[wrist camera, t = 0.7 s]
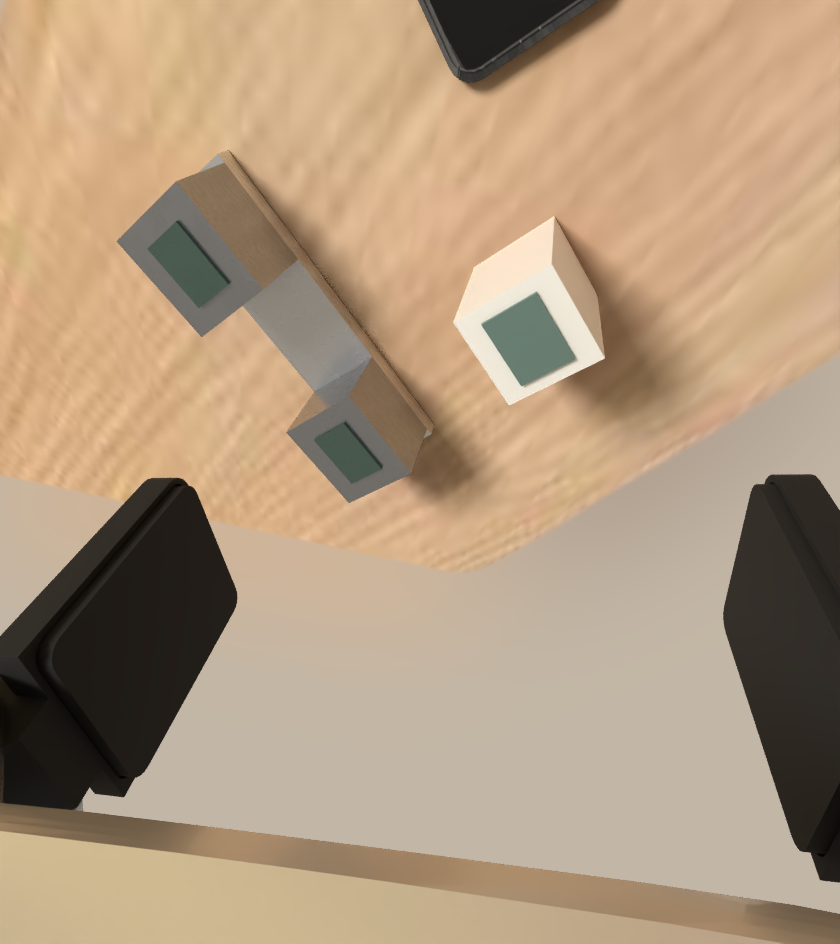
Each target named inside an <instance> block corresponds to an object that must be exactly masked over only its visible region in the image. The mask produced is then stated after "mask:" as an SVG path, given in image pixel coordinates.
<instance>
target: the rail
mask: <svg viewBox="0 0 840 944" xmlns="http://www.w3.org/2000/svg"><path fill="white" fill-rule="evenodd" d="M117 242H118V244H119V245H120V246H121V247H122V248H123V249H124V250H125V251H126V253H127V254H128V255H129V256H130V257H131V258H132V259H133V260H134V262H135V263H136V264H137V265H138V266H139V267H140V268H141V269H142V271H143V272H144V273H145V274H146V275H147V276H148V277H149V278H150V280H151V281H152V282H153V283H154V284H155V285H156V286H157V287H158V289H159V290H160V291H161V292H162V293H163V294H164V295H165V296H166V298H167V299H168V300H169V301H170V302H171V303H172V304H173V305H174V307H175V308H176V309H177V310H178V311H179V312H180V313H181V314H182V316H183V317H184V318H185V319H186V320H187V321H188V322H189V323H190V325H191V326H192V327H193V328H194V329H195V330H196V331H197V332H198V334H199V335H200V336H201V337H203V336H204V335H205V334H206V333H208V332H209V331H210V330H212V329H213V328H214V327H215V326H217V325H218V324H219V323H221V322H222V321H223V320H225V319H226V318H227V317H228V316H230V315H231V314H232V313H234V312H235V311H236V310H237V309H239V308H240V307H241V306H243V307H244V308H245V309H246V310H247V311H248V313H249V314H250V315H251V316H252V317H253V319H254V320H255V321H256V322H257V323H258V325H259V326H260V327H261V328H262V329H263V331H264V332H265V333H266V334H267V335H268V337H269V338H270V339H271V340H272V341H273V343H274V344H275V345H276V346H277V347H278V349H279V350H280V351H281V352H282V353H283V355H284V356H285V357H286V358H287V359H288V361H289V362H290V363H291V364H292V365H293V367H294V368H295V369H296V370H297V371H298V373H299V374H300V375H301V376H302V377H303V379H304V380H305V381H306V382H307V383H308V385H309V386H310V387H311V388H312V389H313V391H314V393H313V395H312V396H311V398H310V399H309V400H308V402H307V403H306V405H305V406H304V408H303V409H302V411H301V412H300V414H299V415H298V416H297V418H296V419H295V421H294V422H293V424H292V425H291V427H290V428H289V429H288V431H287V432H286V433H287V434H288V435H289V436H290V437H291V438H292V439H293V440H294V442H295V443H296V444H297V445H298V446H299V447H300V448H301V449H302V451H303V452H304V453H305V454H306V455H307V456H308V457H309V458H310V460H311V461H312V462H313V463H314V464H315V465H316V466H317V467H318V469H319V470H320V471H321V472H322V473H323V474H324V475H325V476H326V478H327V479H328V480H329V481H330V482H331V483H332V484H333V485H334V487H335V488H336V489H337V490H338V491H339V492H340V493H341V494H342V496H343V497H344V498H345V499H346V500H347V501H348V502H349V503H350V502H352V501H354V500H356V499H358V498H361V497H363V496H365V495H367V494H369V493H371V492H373V491H375V490H378V489H380V488H382V487H384V486H386V485H388V484H390V483H393V482H395V481H397V480H399V479H401V478H403V477H405V476H407V475H410V474H411V473H412V470H413V467H414V465H415V462H416V459H417V456H418V453H419V450H420V447H421V444H422V442H423V439H424V438H425V437H427V436H429V435H431V434H432V431H433V428H434V424H433V423H432V421H431V420H430V419H429V417H428V416H427V415H426V413H425V412H424V411H423V409H422V408H421V407H420V405H419V404H418V403H417V401H416V400H415V399H414V397H413V396H412V395H411V393H410V392H409V391H408V389H407V388H406V387H405V385H404V384H403V383H402V381H401V380H400V379H399V377H398V376H397V375H396V373H395V372H394V371H393V369H392V368H391V367H390V365H389V364H388V363H387V361H386V360H385V359H384V357H383V356H382V355H381V353H380V352H379V351H378V349H377V348H376V347H375V345H374V344H373V343H372V341H371V340H370V339H369V337H368V336H367V335H366V333H365V332H364V331H363V329H362V328H361V327H360V325H359V324H358V323H357V321H356V320H355V319H354V317H353V316H352V315H351V313H350V312H349V311H348V309H347V308H346V307H345V305H344V304H343V303H342V301H341V300H340V299H339V297H338V296H337V295H336V293H335V292H334V291H333V289H332V288H331V287H330V285H329V284H328V283H327V281H326V280H325V279H324V277H323V276H322V275H321V273H320V272H319V271H318V269H317V268H316V267H315V265H314V264H313V263H312V261H311V260H310V259H309V257H308V256H307V255H306V253H305V252H304V251H303V249H302V248H301V247H300V245H299V244H298V243H297V241H296V240H295V239H294V237H293V236H292V235H291V233H290V232H289V231H288V229H287V228H286V227H285V225H284V224H283V223H282V221H281V220H280V219H279V217H278V216H277V215H276V213H275V212H274V211H273V209H272V208H271V207H270V205H269V204H268V203H267V201H266V200H265V199H264V197H263V196H262V195H261V193H260V192H259V191H258V189H257V188H256V187H255V185H254V184H253V183H252V181H251V180H250V179H249V177H248V176H247V175H246V173H245V172H244V171H243V169H242V168H241V167H240V165H239V164H238V163H237V161H236V160H235V159H234V157H233V156H232V155H231V153H230V152H229V151H228V150H227V151H224V152H221V153H219V154H217V155H216V156H215V157H214V158H213V159H212V160H211V161H210V162H209V163H208V164H207V165H206V166H205V167H204V168H203V169H202V170H201V171H200V172H199V173H197V174H194V175H191V176H189V177H186V178H184V179H181V180H179V181H176V182H175V183H174V184H173V185H172V186H171V187H170V188H169V189H168V190H167V191H166V192H165V193H164V194H163V195H162V196H161V197H160V198H159V199H158V200H157V201H156V202H155V203H154V204H153V205H152V206H151V207H150V208H149V209H148V210H147V211H146V212H145V213H144V214H143V215H142V216H141V217H140V218H139V219H138V220H137V221H136V222H135V223H134V224H133V225H132V226H131V227H130V228H129V229H128V230H127V231H126V232H125V233H124V234H123V235H122V236H121V237H120V238H119V239H118V240H117Z"/></svg>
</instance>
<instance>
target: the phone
mask: <svg viewBox="0 0 840 944" xmlns="http://www.w3.org/2000/svg"><path fill="white" fill-rule="evenodd" d="M418 1H419V3H420V5H421V8H422V10H423V12H424V14H425V16H426V19H427V21H428V23H429V25H430V27H431V29H432V32H433V34H434V36H435V38H436V40H437V42H438V45H439V47H440V49H441V51H442V53H443V56H444V58H445V60H446V62H447V64H448V66H449V68H450V70H451V71H452V73H453V75H454V76H456V77H457V78H458V79H459V80H461V81H464V82H467V83H470V82H477V81H479V80H481V79H483V78H485V77H486V76H488V75H489V74H491V73H492V72H494V71H495V70H497V69H498V68H500V67H501V66H503V65H504V64H506V63H507V62H509V61H510V60H512V59H513V58H515V57H516V56H517V55H519V54H520V53H522V52H523V51H525V50H526V49H528V48H529V47H531V46H532V45H534V44H535V43H537V42H538V41H540V40H541V39H543V38H544V37H546V36H547V35H549V34H550V33H552V32H553V31H554V30H556V29H557V28H559V27H560V26H562V25H563V24H565V23H566V22H568V21H569V20H571V19H572V18H574V17H575V16H577V15H578V14H580V13H581V12H583V11H584V10H586V9H587V8H589V7H590V6H592V5H593V4H594V3H596V2H597V1H598V0H418Z"/></svg>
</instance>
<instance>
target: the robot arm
mask: <svg viewBox="0 0 840 944" xmlns="http://www.w3.org/2000/svg"><path fill="white" fill-rule="evenodd" d="M236 604H237V591H236V588H235V585H234V583H233V580H232V578H231V576H230V573H229V571H228V568H227V566H226V563H225V561H224V558H223V556H222V554H221V551H220V549H219V546H218V544H217V541H216V539H215V537H214V534H213V532H212V529H211V527H210V524H209V522H208V519H207V517H206V514H205V512H204V509H203V507H202V505H201V502H200V500H199V497H198V495H197V492H196V491H195V489H194V488H193V487H191V486H188V484H187V483H186V482H185V481H184V480H183V479H180V478H151V479H148V480H146V481H145V482H144V483H143V484H142V485H141V486H140V487H139V488H138V489H137V490H136V491H135V492H134V493H133V495H132V496H131V497H130V498H129V499H128V500H127V501H126V502H125V503H124V504H123V505H122V506H121V507H120V508H119V510H118V511H117V512H116V513H115V514H114V515H113V516H112V517H111V518H110V519H109V520H108V521H107V523H105V525H104V526H103V527H102V528H101V529H100V530H99V531H98V532H97V533H96V534H95V535H94V536H93V537H92V538H91V539H90V541H89V542H88V543H87V544H86V545H85V546H84V547H83V548H82V549H81V550H80V551H79V552H78V553H77V554H76V556H75V557H74V558H73V559H72V560H71V561H70V562H69V563H68V564H67V565H66V566H65V567H64V569H62V571H61V572H60V573H59V574H58V575H57V576H56V577H55V578H54V579H53V580H52V581H51V582H50V583H49V584H48V586H47V587H46V588H45V589H44V590H43V591H42V592H41V593H40V594H39V596H37V597H36V599H35V600H34V601H33V602H32V603H31V604H30V605H29V606H28V607H27V608H26V609H25V610H24V611H23V612H22V613H21V614H20V616H19V617H18V618H17V619H16V620H15V621H14V622H13V623H12V624H11V625H10V626H9V627H8V628H7V630H6V631H5V632H4V633H3V634H2V635H1V636H0V944H840V914H837V913H832V912H827V911H822V910H817V909H811V908H806V907H801V906H796V905H790V904H783V903H776V902H769V901H763V900H756V899H749V898H743V897H736V896H729V895H723V894H715V893H709V892H702V891H696V890H689V889H682V888H676V887H668V886H662V885H656V884H649V883H641V882H634V881H627V880H619V879H611V878H604V877H596V876H589V875H581V874H573V873H566V872H558V871H551V870H543V869H535V868H528V867H520V866H513V865H504V864H497V863H490V862H482V861H474V860H467V859H459V858H452V857H444V856H436V855H429V854H420V853H412V852H405V851H397V850H389V849H382V848H373V847H365V846H358V845H350V844H342V843H334V842H326V841H319V840H310V839H303V838H294V837H287V836H279V835H271V834H263V833H254V832H247V831H239V830H231V829H222V828H215V827H206V826H198V825H190V824H182V823H173V822H165V821H157V820H149V819H140V818H132V817H124V816H116V815H107V814H99V813H91V812H83V804H82V799H83V797H84V795H85V794H86V792H87V791H88V789H89V787H90V788H91V789H92V791H93V792H94V793H95V794H101V795H110V796H118V797H124V796H125V795H126V793H127V791H128V789H129V787H130V786H131V784H132V782H133V780H134V779H135V777H138V776H140V775H141V774H142V773H144V772H145V770H146V768H147V767H148V765H149V763H150V762H151V760H152V758H153V756H154V755H155V753H156V751H157V749H158V747H159V746H160V744H161V742H162V740H163V738H164V737H165V735H166V733H167V731H168V729H169V727H170V726H171V724H172V722H173V720H174V718H175V717H176V715H177V713H178V711H179V709H180V708H181V706H182V704H183V702H184V700H185V699H186V697H187V695H188V693H189V691H190V690H191V688H192V686H193V684H194V682H195V681H196V679H197V677H198V675H199V673H200V671H201V670H202V668H203V666H204V664H205V662H206V661H207V659H208V657H209V655H210V653H211V652H212V650H213V648H214V646H215V644H216V642H217V641H218V639H219V637H220V635H221V634H222V632H223V630H224V628H225V626H226V624H227V623H228V621H229V619H230V617H231V615H232V614H233V612H234V609H235V607H236ZM723 615H724V616H723V619H724V627H725V631H726V635H727V637H728V641H729V644H730V647H731V650H732V653H733V656H734V660H735V662H736V666H737V669H738V672H739V675H740V678H741V681H742V684H743V687H744V690H745V694H746V697H747V700H748V702H749V706H750V709H751V712H752V715H753V718H754V721H755V724H756V727H757V731H758V734H759V736H760V740H761V743H762V746H763V749H764V752H765V755H766V758H767V761H768V764H769V767H770V771H771V774H772V777H773V780H774V783H775V786H776V789H777V792H778V795H779V798H780V802H781V804H782V808H783V811H784V814H785V817H786V820H787V823H788V826H789V829H790V833H791V835H792V838H793V840H794V843H795V845H796V846H797V848H798V849H799V850H800V851H802V852H810V853H811V855H812V858H813V861H814V863H815V867H816V870H817V873H818V875H819V878H820V880H823V881H831V882H840V510H839V509H838V507H837V506H836V504H835V503H834V501H833V500H832V498H831V497H830V495H829V494H828V492H827V491H826V489H825V488H824V486H823V485H822V483H821V482H820V480H819V479H818V478H817V477H816V476H814V475H810V474H805V475H770V476H768V478H767V479H766V481H765V484H756V485H754V487H753V488H752V491H751V494H750V498H749V503H748V507H747V511H746V515H745V520H744V524H743V528H742V533H741V537H740V541H739V545H738V550H737V554H736V558H735V562H734V567H733V571H732V575H731V580H730V584H729V588H728V592H727V597H726V601H725V605H724V612H723Z"/></svg>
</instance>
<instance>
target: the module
mask: <svg viewBox="0 0 840 944" xmlns="http://www.w3.org/2000/svg"><path fill="white" fill-rule="evenodd" d="M453 323H454V324H455V326H456V327H457V329H458V330H459V332H460V333H461V335H462V336H463V338H464V339H465V341H466V342H467V344H468V345H469V347H470V348H471V350H472V351H473V353H474V354H475V356H476V357H477V359H478V360H479V361H480V363H481V364H482V366H483V367H484V369H485V370H486V372H487V373H488V375H489V376H490V378H491V379H492V381H493V382H494V384H495V385H496V387H497V388H498V390H499V391H500V393H501V394H502V396H503V397H504V399H505V400H506V402H507V403H508V405H511V404H513V403H515V402H517V401H519V400H521V399H523V398H525V397H527V396H529V395H531V394H533V393H535V392H537V391H540V390H542V389H544V388H546V387H548V386H550V385H552V384H554V383H556V382H558V381H560V380H562V379H564V378H566V377H568V376H570V375H572V374H574V373H576V372H578V371H580V370H582V369H584V368H586V367H588V366H591V365H593V364H595V363H597V362H599V361H601V360H603V359H605V355H604V346H603V338H602V329H601V321H600V313H599V304H598V296H597V294H596V292H595V290H594V288H593V286H592V285H591V283H590V281H589V279H588V277H587V275H586V274H585V272H584V270H583V268H582V266H581V264H580V262H579V261H578V259H577V257H576V255H575V253H574V251H573V250H572V248H571V246H570V244H569V242H568V240H567V238H566V237H565V235H564V233H563V231H562V229H561V227H560V226H559V224H558V222H557V220H556V218H555V216H554V217H552V218H551V219H549V220H547V221H546V222H544V223H543V224H541V225H540V226H538V227H536V228H535V229H533V230H532V231H530V232H529V233H527V234H525V235H524V236H522V237H521V238H519V239H518V240H516V241H515V242H513V243H511V244H510V245H508V246H507V247H505V248H504V249H502V250H500V251H499V252H497V253H496V254H494V255H493V256H491V257H489V258H488V259H486V260H485V261H483V262H482V263H480V264H478V265H477V266H475V267H474V269H473V272H472V275H471V277H470V280H469V282H468V285H467V288H466V290H465V293H464V296H463V298H462V301H461V304H460V306H459V309H458V311H457V314H456V317H455V319H454V322H453Z"/></svg>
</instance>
